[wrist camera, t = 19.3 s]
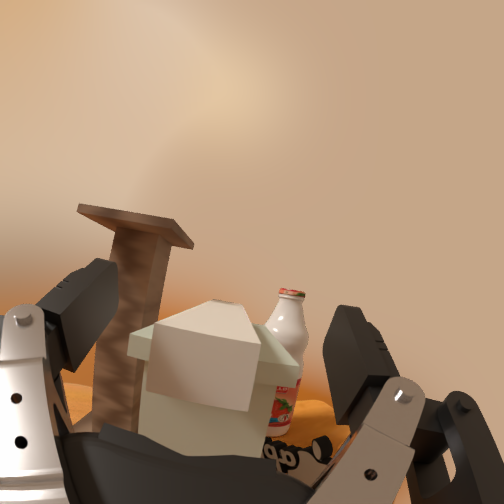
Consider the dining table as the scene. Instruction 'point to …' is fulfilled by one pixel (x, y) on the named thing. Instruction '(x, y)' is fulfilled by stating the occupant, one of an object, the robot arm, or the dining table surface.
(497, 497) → the robot arm
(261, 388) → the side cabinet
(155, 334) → the panel bar
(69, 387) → the dining table surface
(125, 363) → the walnut stand
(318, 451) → the logo
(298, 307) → the fruit juice
